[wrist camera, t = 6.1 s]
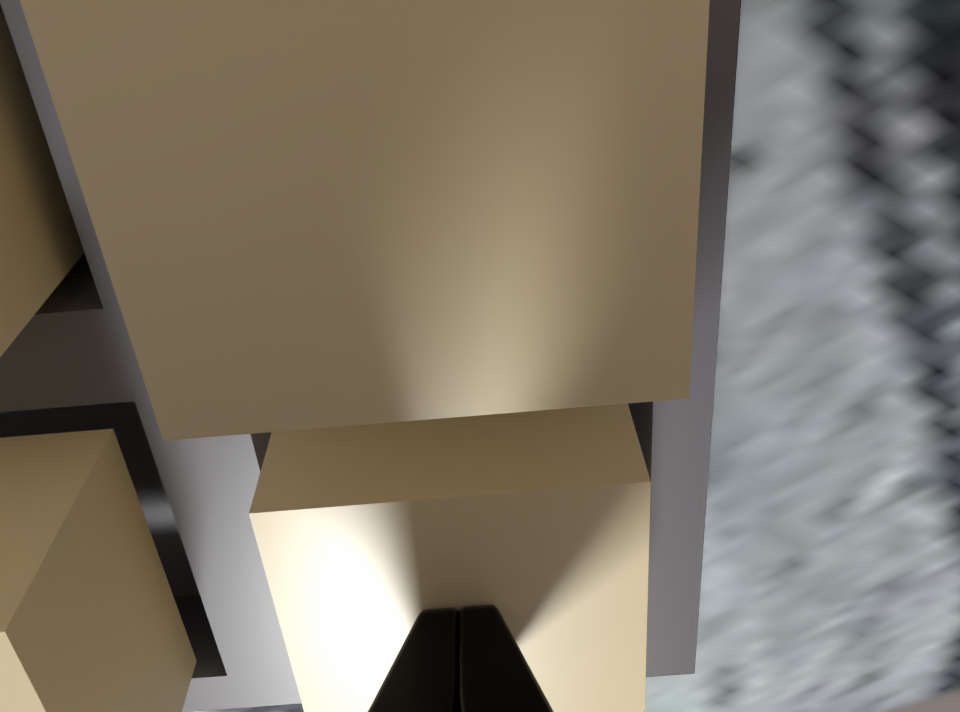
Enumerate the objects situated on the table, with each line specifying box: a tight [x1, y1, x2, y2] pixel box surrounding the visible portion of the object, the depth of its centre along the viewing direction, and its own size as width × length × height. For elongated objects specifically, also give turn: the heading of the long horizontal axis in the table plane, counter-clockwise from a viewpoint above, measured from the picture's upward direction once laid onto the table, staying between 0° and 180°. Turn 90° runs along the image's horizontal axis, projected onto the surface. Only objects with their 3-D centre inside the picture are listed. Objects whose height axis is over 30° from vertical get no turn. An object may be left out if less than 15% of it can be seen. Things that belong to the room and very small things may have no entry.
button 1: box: [249, 403, 651, 712], centre depth 11 cm, size 4×4×3 cm
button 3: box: [20, 0, 710, 441], centre depth 7 cm, size 4×4×3 cm
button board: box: [0, 0, 741, 712], centre depth 11 cm, size 12×12×2 cm
